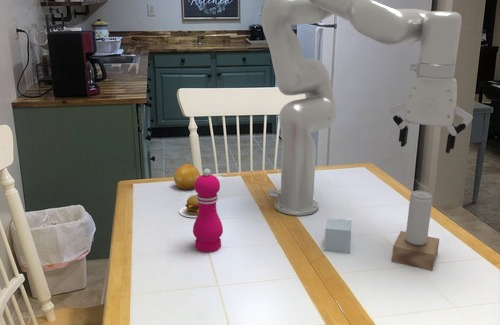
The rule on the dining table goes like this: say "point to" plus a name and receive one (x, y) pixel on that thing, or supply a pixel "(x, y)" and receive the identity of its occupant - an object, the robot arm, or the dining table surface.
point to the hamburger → (191, 206)
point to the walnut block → (415, 252)
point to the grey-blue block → (338, 235)
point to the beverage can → (418, 217)
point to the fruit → (186, 176)
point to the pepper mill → (207, 214)
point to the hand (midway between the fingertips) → (425, 148)
